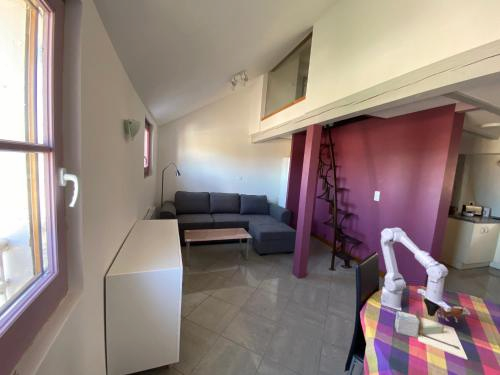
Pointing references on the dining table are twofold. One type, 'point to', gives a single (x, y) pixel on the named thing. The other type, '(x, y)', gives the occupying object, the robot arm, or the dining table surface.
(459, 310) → the bull figurine
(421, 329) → the hinged fence panel
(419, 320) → the fixed fence section
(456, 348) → the board
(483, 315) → the dining table surface
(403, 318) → the medicine box
